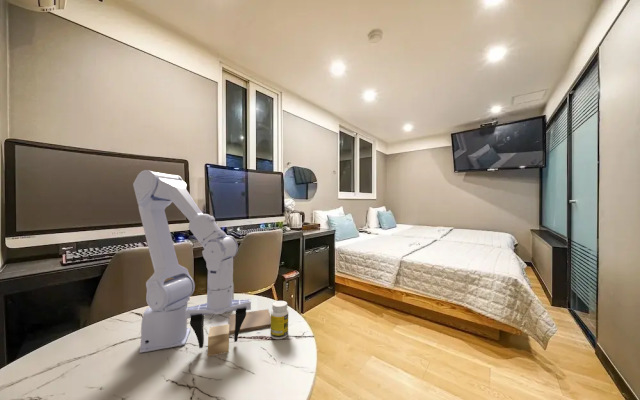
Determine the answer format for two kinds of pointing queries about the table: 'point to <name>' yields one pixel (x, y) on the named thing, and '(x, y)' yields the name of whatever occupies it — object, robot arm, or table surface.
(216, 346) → the oak cube
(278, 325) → the supplement bottle
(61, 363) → the table surface
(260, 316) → the walnut board
